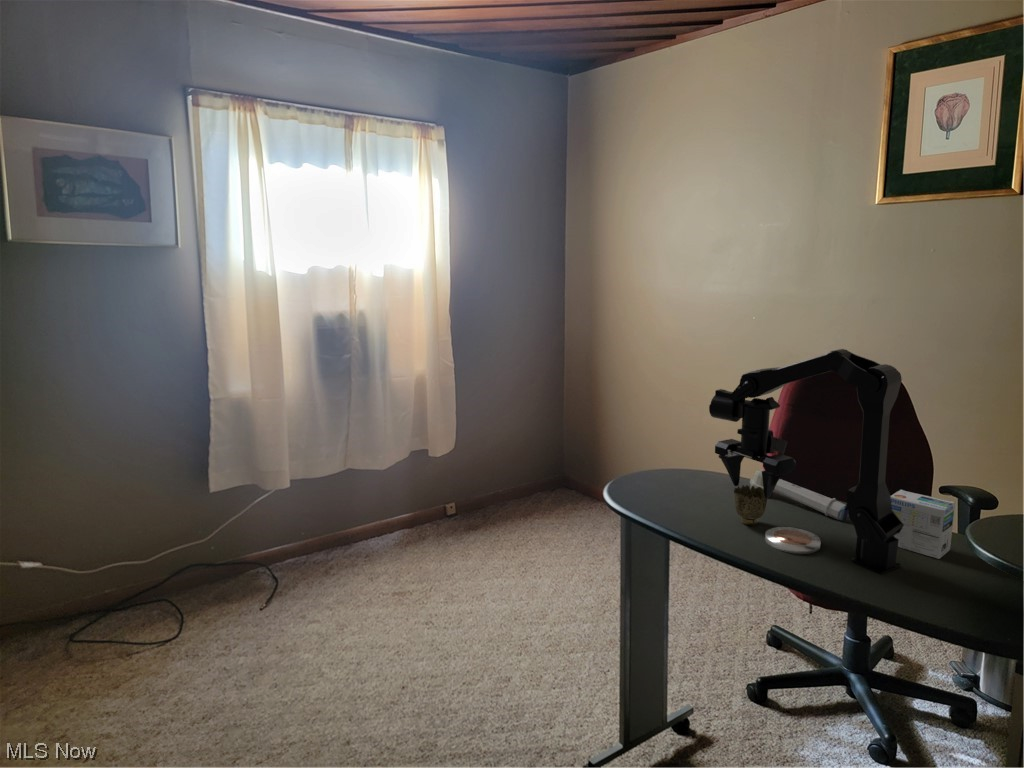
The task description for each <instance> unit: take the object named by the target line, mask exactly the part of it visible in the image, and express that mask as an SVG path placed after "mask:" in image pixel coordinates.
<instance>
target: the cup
mask: <svg viewBox="0 0 1024 768" xmlns="http://www.w3.org/2000/svg"><path fill="white" fill-rule="evenodd" d="M750 488H751V486H750V485H748V484H747V485H741V487H740V486H739V485H738V486H737V487H734V488H733V496H734V498H733V499H734V507H735V510H736V511H735V512H736V513H737V514H738V515H739V516H740V517H741V518H740V521H741V523H742V524H743V525H746V526H755V525H757V524H758V522H759V520H758V519H760V518H761V517H762V516H763V515H764V514H765V512H766V508H767V503H768V499H766V498H765V494H764V490H763V489H762V488H761V487H757V488H755V487H754V486H752V488H751V489H750Z"/></svg>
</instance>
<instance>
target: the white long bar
mask: <svg viewBox="0 0 1024 768" xmlns="http://www.w3.org/2000/svg"><path fill="white" fill-rule="evenodd" d="M762 471H765V469H758V470H756V472H755V474H754V477H752V478H750V480H749V485H750V489H751V488H752V486H754V487H755V488H757V487H761V488H762V489H763V490H764V488H763V479H762ZM773 491H776V492H777V493H780V494H782V495H784V496H786V497H788V498H790V499H792V500H795V501H796V502H799V503H801V504H803V505H805V506H807V507H809V508H811V509H814V510H816V511H817V512H821V513H822V514H823V515H825V516H826V517H831V518H832V519H835V520H838V521H840V522H842V521H844V520H846V519H847V518H848V510H845V508H846V505H847V504H846V503H843V502H840V501H838V500H837V499H836V498H835V497H833V498H831V497H828V496H825V495H823V494H820V493H818V492H815V491H813V490H810V489H808V488H805V487H802V486H799V485H797V484H794V483H793V482H792V483H791V482H789V481H787V480H784V479H782V478H780V479H779V480H778V482H777V484H776V486H775V488H774V490H773ZM772 495H773V493H772V494H771V496H772Z"/></svg>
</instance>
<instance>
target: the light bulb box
mask: <svg viewBox="0 0 1024 768" xmlns="http://www.w3.org/2000/svg"><path fill="white" fill-rule="evenodd" d="M890 497H891V505H892V511H893V512H894V513H895V514H896V516H897V517H898V518H899V519H900V521H901V522H902V523H903V524H904V526H903V528H902V530H901V531H900V533H898V534H896V535H895V536H894V537H895V538H897V539H899V540H898V548H900V549H904V550H907V551H911V552H915V553H918V554H921V555H924V556H928V557H932V558H935V559H937V560H938V559H939V560H941V558H942V557H944V556H945V555H946V554H947V553H948V552H949V551H950V550H951V543H952V536H953V535H952V534H953V526H954V517H955V510H956V509H955V507H956V502H955V501H951V500H946V499H943V498H937V497H933V496H930V495H925V494H920V493H915V492H911V491H906V490H904V489H899V490H898V491H896V492H895V493H893V494H892V495H891V494H890Z"/></svg>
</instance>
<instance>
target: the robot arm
mask: <svg viewBox="0 0 1024 768" xmlns="http://www.w3.org/2000/svg"><path fill="white" fill-rule="evenodd" d="M829 372H834V373H836V374H837V375H838V376H839V377H840V378H842V379H843V381H845V382H846V383H849V384H851V385H852V386H854V387H856V395H857V401H858V403H859V405H860V408H861V410H862V426H861V427H862V428H861V440H860V441H861V443H860V444H861V445H860V459H859V460H860V461H859V474H858V482H857V484H856V485H855V486H853V487H851V488H849V489H848V490H846V504H845V505H846V508H845V510H848V516H847V518H848V519H849V521H850V522H851V523H852V524H853V527H854V530H855V533H856V539H855V540H856V541H855V550H854V551H855V553H854V554H855V555H854V556H855V557H852V558H851V562H852V563H855V564H857V565H859V566H862V567H863V568H865V569H868V570H871V571H873V572H875V573H876V574H880V575H882V574H885V573H888V572H891V571H893V570H896V569H898V568H901V566H902V565H901V563H899V562H897V557H898V548H899V547H898V540H899V539H897V538H895V537H894V536H895V535H896V534H898V533H900V531H901V530H902V528H903V526H904V524H903V523H902V522H901V521H900V519H899V518H898V517H897V516H896V514H895V513H894V512H893V511H892V505H891V497H890V496H891V493H890V490H889V489H888V486H887V483H886V476H887V475H886V473H887V460H888V445H889V430H890V419H891V418H890V415H891V411H892V409H893V407H894V404H895V403H896V401H897V398H898V396H899V392H900V388H901V384H902V380H903V379H902V374H901V372H900V371H899V370H898V369H897V368H896V367H894V366H893V365H890V364H886V363H885V364H882V363H878V362H876V361H874V360H872V359H869V358H866V357H863V356H861V355H858V354H855V353H853V352H852V351H850V350H847V349H845V348H839V349H835V350H830V351H829V352H827V353H825V354H821V355H819V356H815V357H812V358H808V359H806V360H802V361H799V362H795V363H791V364H788V365H786V366H781V367H777V366H776V367H769V368H767V367H766V368H761V369H756V370H752V371H748V372H745V373H743V374H742V375H741V376H740V377H741V378H740V380H739V384H738V385H737V386H736V388H735V389H734V390H733V391H729V390H727V389H722V388H720V389H716V390H715V394H714V396H713V397H712V398H711V401H710V404H709V405H708V406H709V407H708V410H709V414H710V416H711V417H712V418H714V419H720V420H723V421H724V420H725V421H729V422H733V423H737V422H739V421H740V420H741V428H738V429H737V430H736V431H737V434H738V435H741V436H740V440H736V439H734V438H728V439H723V440H718V441H717V442H716V444H715V446H714V453H715V454H717V455H718V458H719V459H720V460H721V462H722V463H723V465H724V468H725V469H726V472H727V473H728V475H729V478H730V480H731V482H732V484H733V486H734V487H738V486H739V485H740V479H741V469H742V468H741V467H742V465H741V464H742V461H743V460H744V458H747V459H749V460H753V461H756V462H758V463H761V464H762V468H763V470H765V471H762V479H763V488H764V494H765V498H766V499H767V500H768V499H770V498H771V496H772V495H773V492H774V491H775V490H774V488H775V486H776V484H777V482H778V480H779V479H781V477H783V476H784V475H787V474H790V473H791V472H795V471H796V470H797V469H796V468H797V467H796V466H797V463H796V460H795V459H794V457H791V456H789V455H788V456H787V455H785V454H784V453H785V451H786V448H787V444H788V442H789V441H787V440H785V439H781V438H778V437H775V436H774V432H773V430H771V429H770V415H771V414H770V412H771V411H772V410H773V411H774V410H775V409H779V408H781V404H780V403H779V402H777V401H776V400H775V398H774V397H773V396H770V397H767V398H766V399H764V398H759V397H761V396H765V395H766V396H767V395H769V394H771V393H773V392H775V391H777V390H779V389H781V388H783V387H785V386H786V385H788V384H791V383H793V382H796V381H800V380H804V379H807V378H811V377H814V376H818V375H822V374H825V373H829ZM748 398H749V399H751V400H748ZM752 398H753V399H752ZM775 452H777V453H778V454H775ZM768 454H770V455H768ZM771 454H774V455H771ZM771 494H772V495H771Z"/></svg>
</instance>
